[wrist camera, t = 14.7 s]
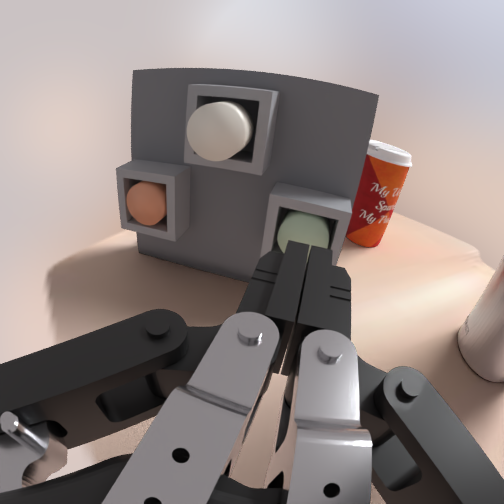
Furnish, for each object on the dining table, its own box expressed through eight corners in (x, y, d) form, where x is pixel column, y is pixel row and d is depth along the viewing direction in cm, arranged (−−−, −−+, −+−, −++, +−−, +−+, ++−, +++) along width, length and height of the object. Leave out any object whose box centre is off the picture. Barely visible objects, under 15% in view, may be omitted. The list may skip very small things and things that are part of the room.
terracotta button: (163, 229, 25) (162, 187, 23) (128, 220, 26) (125, 181, 24) (176, 217, 28) (176, 178, 25) (142, 210, 28) (140, 172, 26)
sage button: (321, 266, 23) (334, 223, 21) (273, 255, 24) (281, 211, 22) (323, 250, 25) (334, 210, 23) (279, 240, 26) (286, 199, 24)
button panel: (320, 321, 27) (385, 95, 15) (124, 266, 30) (112, 71, 19) (324, 283, 31) (373, 94, 20) (151, 239, 35) (150, 69, 24)
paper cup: (360, 255, 37) (391, 154, 29) (327, 226, 43) (349, 135, 35) (395, 247, 40) (425, 159, 33) (363, 222, 46) (385, 141, 38)
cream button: (240, 165, 19) (246, 106, 17) (185, 157, 19) (188, 101, 17) (250, 157, 21) (256, 104, 19) (200, 149, 21) (203, 99, 19)
